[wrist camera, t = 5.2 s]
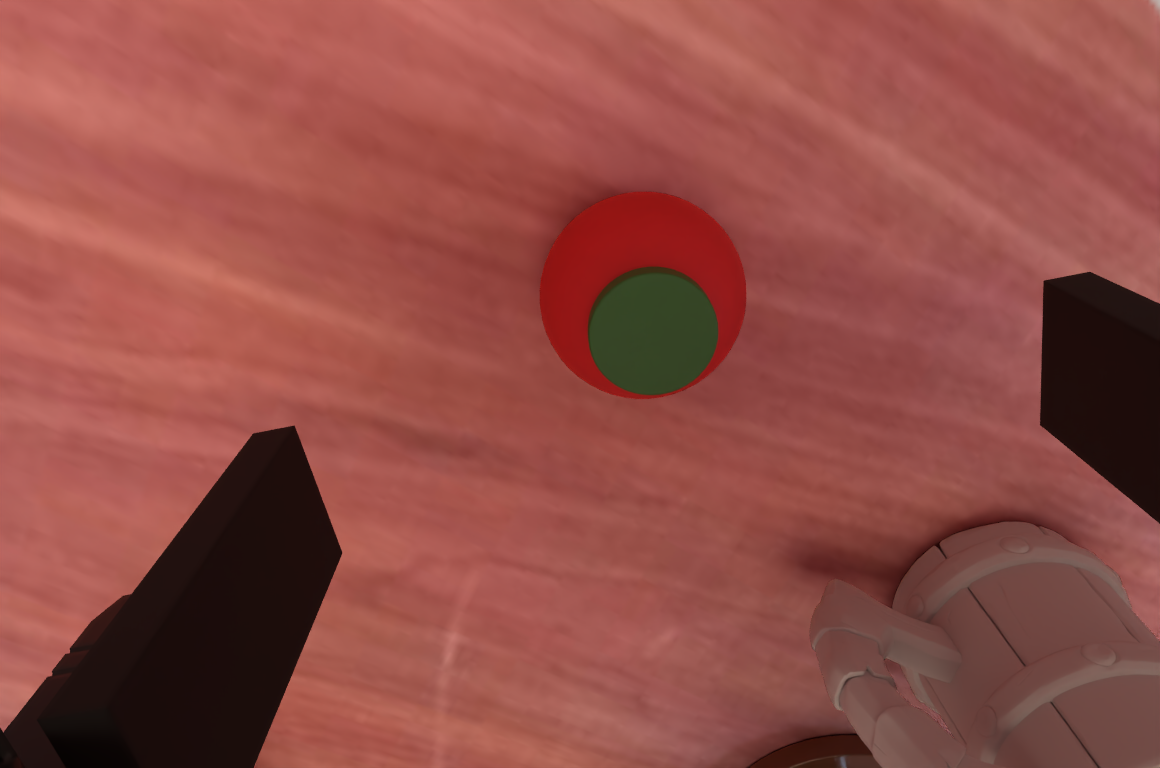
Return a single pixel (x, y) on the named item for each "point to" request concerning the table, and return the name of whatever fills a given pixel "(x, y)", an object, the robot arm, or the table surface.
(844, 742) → the dish
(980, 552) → the mug
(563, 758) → the table surface
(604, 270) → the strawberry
